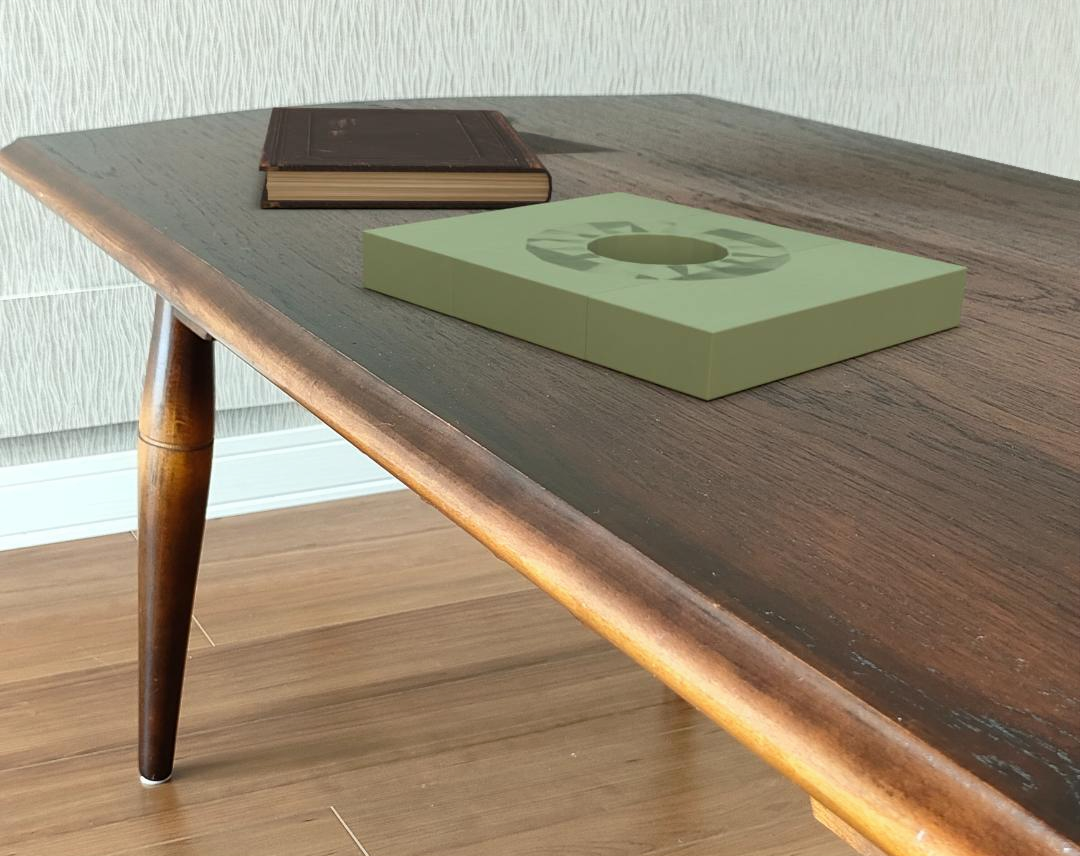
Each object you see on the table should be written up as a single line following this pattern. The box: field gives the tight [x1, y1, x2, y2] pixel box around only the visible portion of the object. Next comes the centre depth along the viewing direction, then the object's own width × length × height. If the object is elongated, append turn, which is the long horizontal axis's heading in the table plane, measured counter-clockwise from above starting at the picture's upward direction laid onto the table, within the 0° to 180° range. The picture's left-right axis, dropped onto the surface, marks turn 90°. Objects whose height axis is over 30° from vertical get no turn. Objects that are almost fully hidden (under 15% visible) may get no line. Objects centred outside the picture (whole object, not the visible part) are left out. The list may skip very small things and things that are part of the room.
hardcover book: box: [258, 106, 553, 209], centre depth 90 cm, size 16×23×2 cm
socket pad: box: [362, 191, 968, 401], centre depth 62 cm, size 20×16×2 cm
